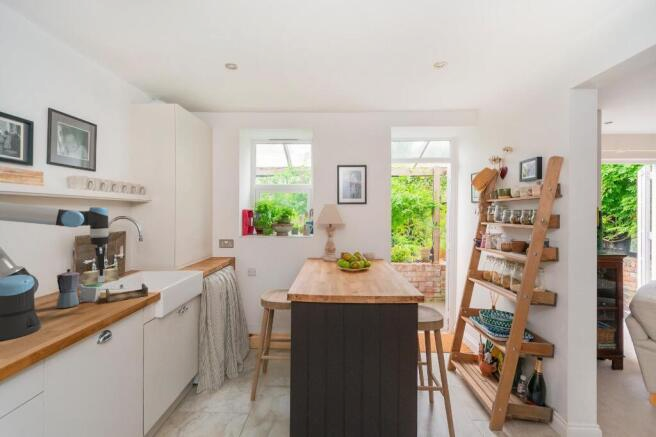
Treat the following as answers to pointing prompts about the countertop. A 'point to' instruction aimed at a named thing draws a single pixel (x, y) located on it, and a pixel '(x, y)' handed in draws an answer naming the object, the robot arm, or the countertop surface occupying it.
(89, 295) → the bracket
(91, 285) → the green lidded container
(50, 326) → the countertop surface
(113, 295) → the cradle
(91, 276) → the tan rectangular block
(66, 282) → the moka pot
